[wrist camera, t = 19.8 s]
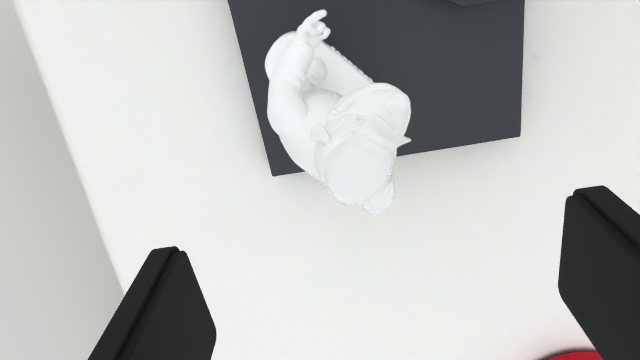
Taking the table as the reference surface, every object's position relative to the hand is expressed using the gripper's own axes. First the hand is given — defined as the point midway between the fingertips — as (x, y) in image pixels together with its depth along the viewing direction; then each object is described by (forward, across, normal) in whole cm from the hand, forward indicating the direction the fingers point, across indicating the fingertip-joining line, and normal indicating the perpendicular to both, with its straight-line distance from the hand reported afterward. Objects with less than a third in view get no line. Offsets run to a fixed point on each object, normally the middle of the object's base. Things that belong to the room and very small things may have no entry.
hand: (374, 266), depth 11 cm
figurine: (+17, 0, 0) cm, 17 cm away
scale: (+19, -2, -2) cm, 19 cm away
